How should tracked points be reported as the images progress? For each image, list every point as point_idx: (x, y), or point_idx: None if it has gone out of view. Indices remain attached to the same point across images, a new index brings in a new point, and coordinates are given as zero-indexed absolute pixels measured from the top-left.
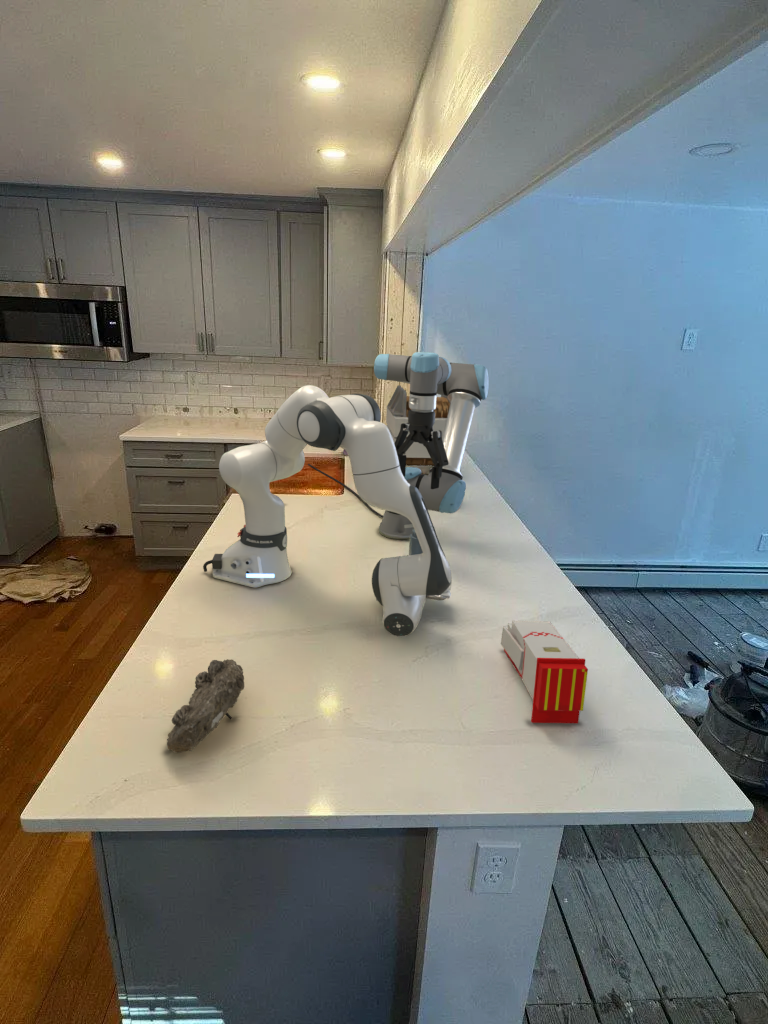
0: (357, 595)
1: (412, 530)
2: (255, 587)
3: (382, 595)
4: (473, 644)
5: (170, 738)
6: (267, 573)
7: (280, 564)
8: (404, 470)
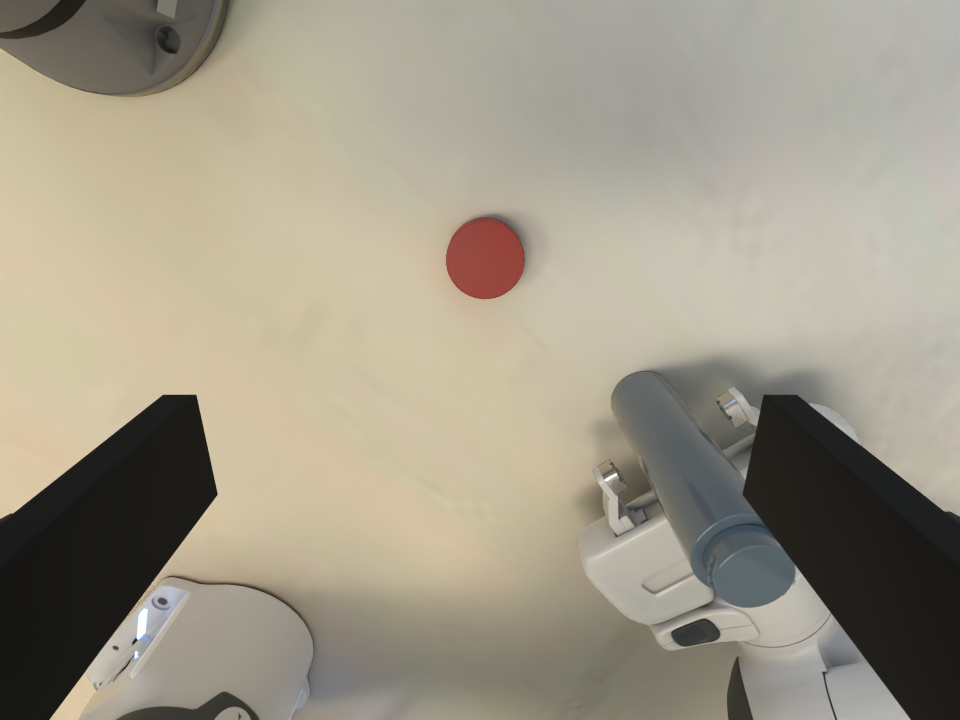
0: (521, 537)
1: (725, 601)
2: (308, 697)
3: None
4: (954, 482)
5: None
6: (294, 700)
7: (282, 682)
8: (152, 456)
